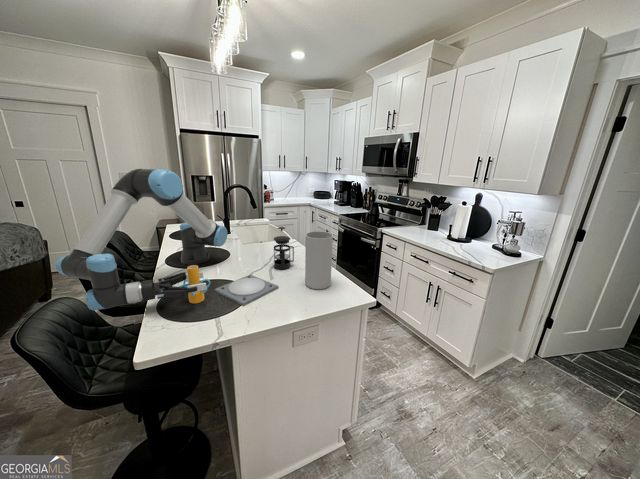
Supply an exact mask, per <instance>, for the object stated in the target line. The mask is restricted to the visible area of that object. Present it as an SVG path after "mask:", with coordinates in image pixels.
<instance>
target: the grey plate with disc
mask: <svg viewBox="0 0 640 479" xmlns="http://www.w3.org/2000/svg"><path fill="white" fill-rule="evenodd" d="M277 289H279V285H278V284H275V283H273V282H270V281H267V280H264V279H262V278H260V277H258V276H255V275H252V274H248V275H246V276H244V277H241V278H238V279H236V280H233V281H231V282H229V283H226V284H224V285H221V286H219V287H216V288H214V292H215V293H217V294H219V295H221V296H223V297H225V298H227V299H229V300H230V301H233V302H234V303H236V304H239V305H240V306H242V307H245V306H246V305H249V304H250V303H252V302H254V301H256V300H259V299H261V298H262V297H264V296H266V295H268V294H269V293H272V292H274V291H275V290H277Z"/></svg>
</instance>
